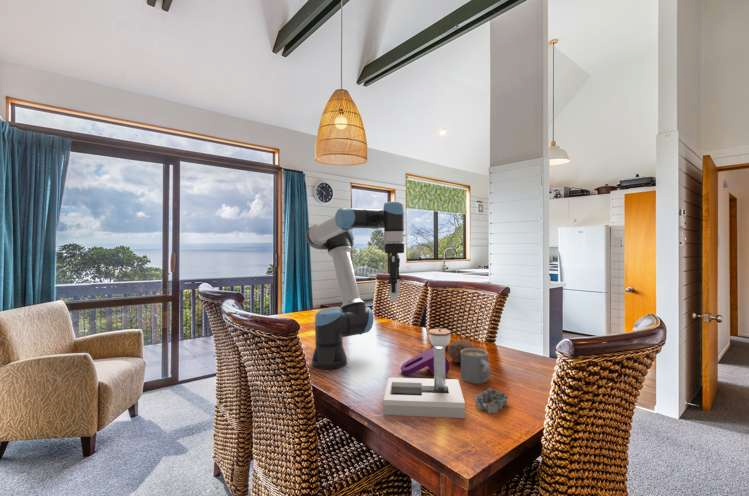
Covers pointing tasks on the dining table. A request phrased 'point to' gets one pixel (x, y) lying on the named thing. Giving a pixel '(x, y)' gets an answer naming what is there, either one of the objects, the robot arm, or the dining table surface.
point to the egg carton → (496, 400)
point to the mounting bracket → (422, 363)
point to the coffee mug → (474, 365)
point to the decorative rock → (458, 349)
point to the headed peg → (439, 370)
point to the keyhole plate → (423, 398)
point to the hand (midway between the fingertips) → (395, 298)
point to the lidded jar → (439, 337)
